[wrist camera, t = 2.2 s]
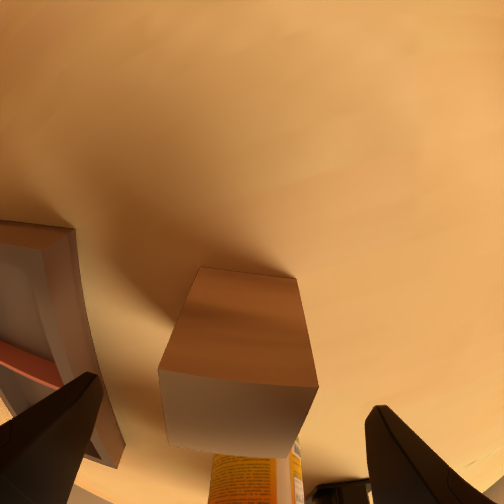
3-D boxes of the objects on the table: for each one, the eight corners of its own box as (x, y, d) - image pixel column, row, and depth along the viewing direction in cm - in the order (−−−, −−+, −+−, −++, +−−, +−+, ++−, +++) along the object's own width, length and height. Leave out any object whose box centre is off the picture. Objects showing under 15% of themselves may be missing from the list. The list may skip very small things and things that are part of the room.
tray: (125, 444, 18) (117, 469, 16) (31, 408, 18) (20, 427, 16) (75, 229, 12) (41, 250, 9) (-35, 215, 11) (-62, 229, 9)
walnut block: (280, 351, 14) (286, 458, 8) (197, 341, 14) (168, 445, 8) (296, 278, 12) (318, 387, 7) (200, 266, 12) (157, 368, 7)
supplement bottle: (203, 439, 17) (183, 563, 8) (243, 404, 15) (233, 563, 6) (268, 460, 18) (267, 572, 9) (315, 429, 16) (330, 563, 7)
